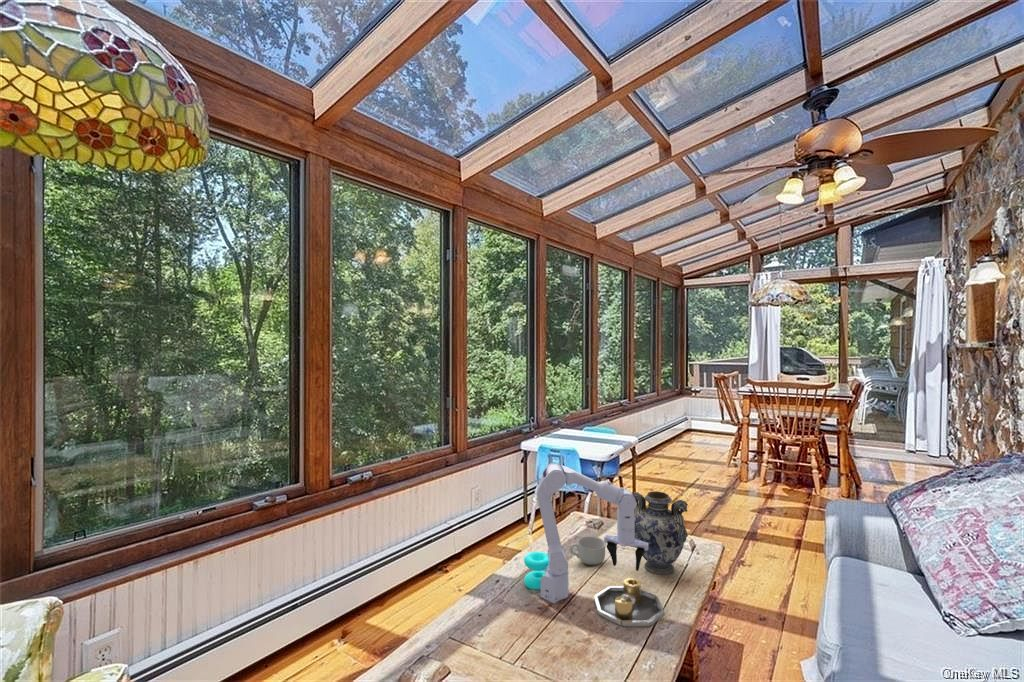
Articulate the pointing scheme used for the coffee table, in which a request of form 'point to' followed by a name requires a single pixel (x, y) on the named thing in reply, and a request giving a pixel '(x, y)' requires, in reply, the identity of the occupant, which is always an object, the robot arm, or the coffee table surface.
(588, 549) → the teacup
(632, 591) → the gear
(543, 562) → the donuts
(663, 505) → the decorative vase
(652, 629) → the coffee table surface
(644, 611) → the tray
